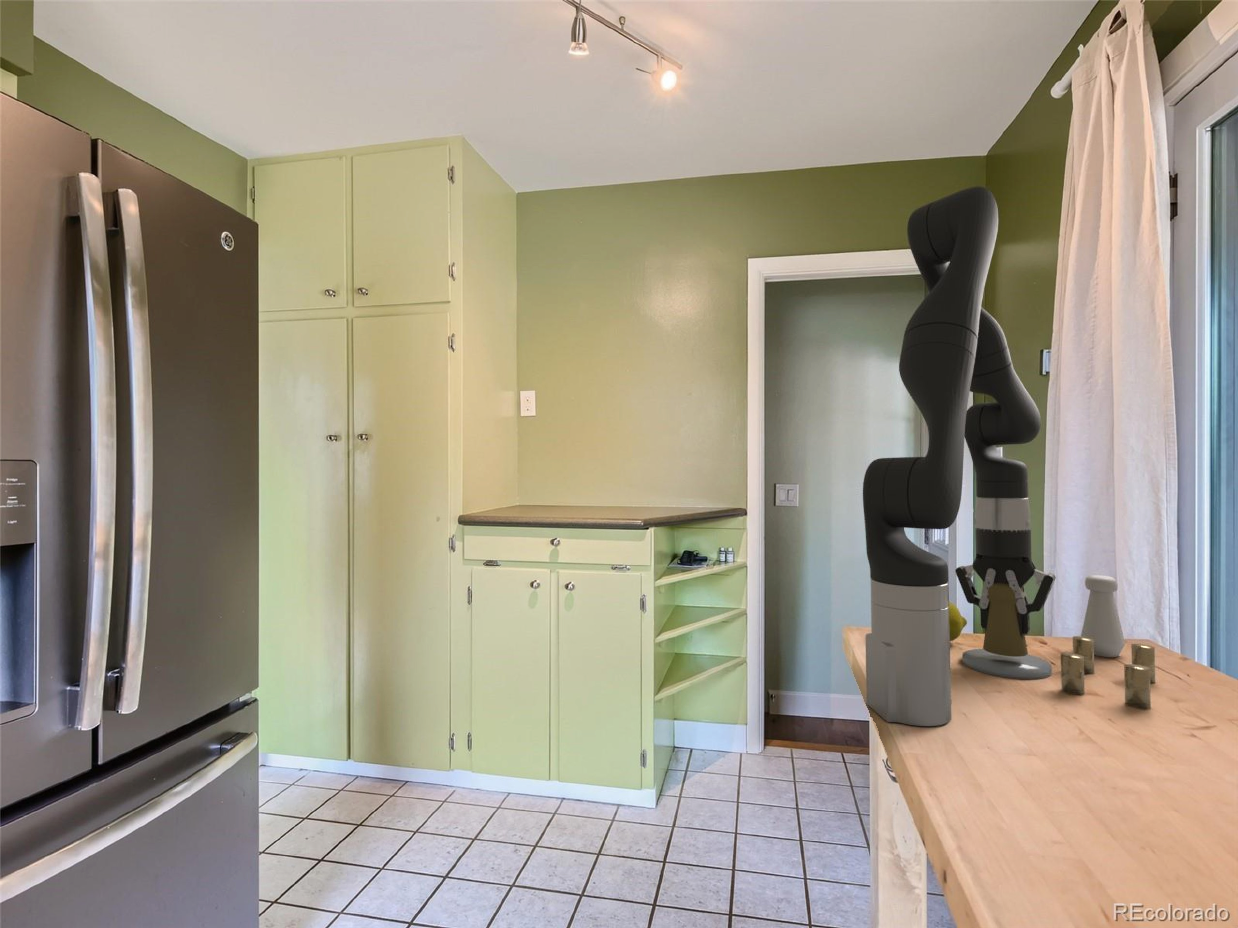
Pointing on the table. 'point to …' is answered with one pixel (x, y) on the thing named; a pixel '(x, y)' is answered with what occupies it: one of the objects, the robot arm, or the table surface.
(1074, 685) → the cylinder
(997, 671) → the slate coaster
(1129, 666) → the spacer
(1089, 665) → the cylinder
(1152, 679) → the cylinder
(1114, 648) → the salt shaker
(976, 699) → the table surface
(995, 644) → the cork
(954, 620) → the lemon
